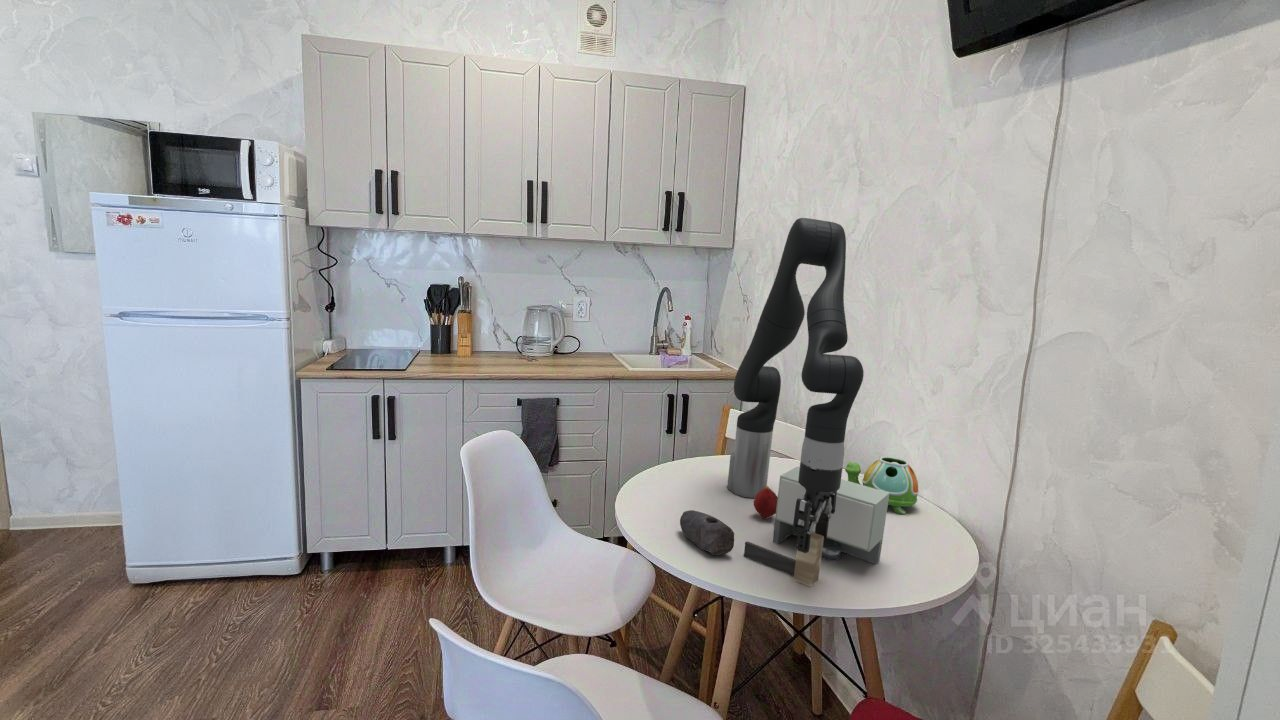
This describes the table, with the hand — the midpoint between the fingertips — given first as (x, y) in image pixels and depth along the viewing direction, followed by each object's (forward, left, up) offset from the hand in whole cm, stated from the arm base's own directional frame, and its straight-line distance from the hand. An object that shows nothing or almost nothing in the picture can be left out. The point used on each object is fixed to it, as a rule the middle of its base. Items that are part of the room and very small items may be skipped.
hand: (811, 543), depth 116 cm
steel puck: (-1, +14, -8) cm, 16 cm away
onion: (-19, +20, -8) cm, 29 cm away
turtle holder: (-2, +52, -8) cm, 53 cm away
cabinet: (-2, +14, -8) cm, 16 cm away
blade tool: (-6, 0, -7) cm, 10 cm away
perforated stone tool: (-22, -2, -8) cm, 24 cm away
